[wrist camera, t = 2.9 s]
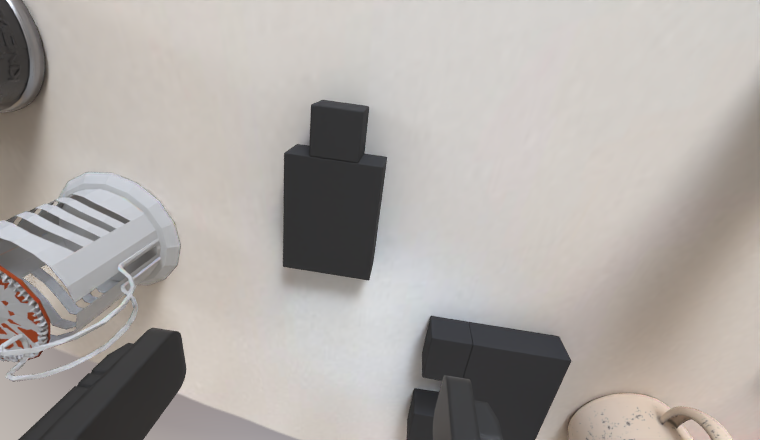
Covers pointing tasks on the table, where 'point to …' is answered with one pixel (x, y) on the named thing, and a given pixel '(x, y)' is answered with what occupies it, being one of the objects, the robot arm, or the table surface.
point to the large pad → (491, 374)
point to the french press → (80, 263)
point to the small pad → (333, 194)
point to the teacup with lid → (638, 420)
